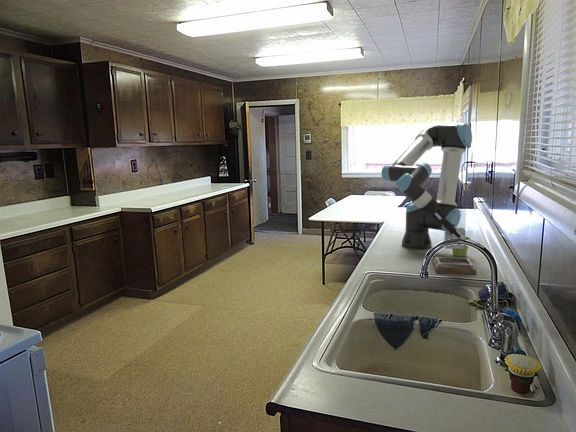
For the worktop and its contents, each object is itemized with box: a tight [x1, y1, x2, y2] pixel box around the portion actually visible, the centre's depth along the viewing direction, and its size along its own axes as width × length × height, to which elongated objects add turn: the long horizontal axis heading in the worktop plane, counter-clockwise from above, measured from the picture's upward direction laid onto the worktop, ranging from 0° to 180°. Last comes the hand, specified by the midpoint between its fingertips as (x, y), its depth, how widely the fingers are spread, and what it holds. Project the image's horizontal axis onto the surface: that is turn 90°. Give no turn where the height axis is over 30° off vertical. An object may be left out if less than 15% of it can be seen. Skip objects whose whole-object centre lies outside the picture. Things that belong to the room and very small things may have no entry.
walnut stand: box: [432, 256, 477, 275], centre depth 188 cm, size 14×16×4 cm
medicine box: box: [443, 227, 466, 249], centre depth 185 cm, size 8×4×9 cm, turn 78°
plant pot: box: [452, 236, 472, 258], centre depth 206 cm, size 9×9×9 cm
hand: (463, 240), depth 185 cm, fingers closed on medicine box, 4 cm apart
